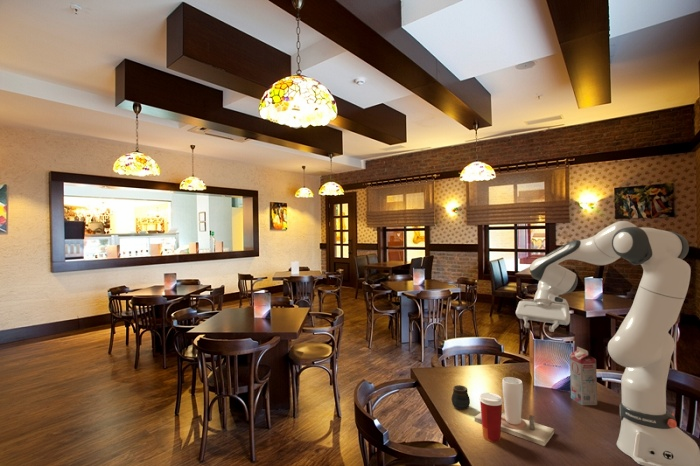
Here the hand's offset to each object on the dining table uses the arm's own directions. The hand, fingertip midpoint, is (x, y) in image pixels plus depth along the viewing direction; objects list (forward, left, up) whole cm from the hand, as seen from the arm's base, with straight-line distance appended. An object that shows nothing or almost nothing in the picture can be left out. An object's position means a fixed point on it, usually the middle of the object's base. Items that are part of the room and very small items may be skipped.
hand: (538, 328), depth 146 cm
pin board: (+2, +24, -31) cm, 40 cm away
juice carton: (-12, -17, -32) cm, 38 cm away
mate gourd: (+23, +23, -32) cm, 46 cm away
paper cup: (+5, +36, -32) cm, 48 cm away
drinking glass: (+2, +24, -30) cm, 38 cm away
